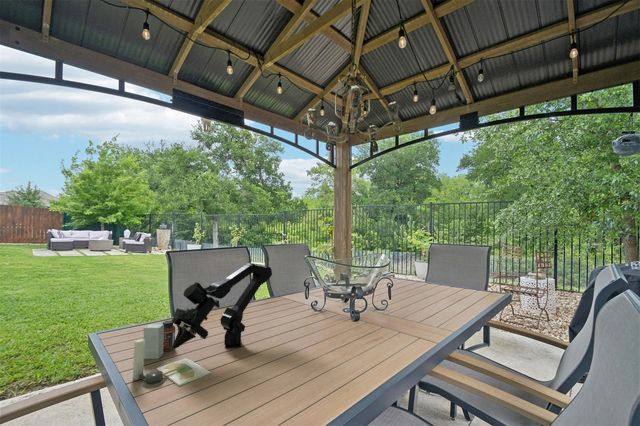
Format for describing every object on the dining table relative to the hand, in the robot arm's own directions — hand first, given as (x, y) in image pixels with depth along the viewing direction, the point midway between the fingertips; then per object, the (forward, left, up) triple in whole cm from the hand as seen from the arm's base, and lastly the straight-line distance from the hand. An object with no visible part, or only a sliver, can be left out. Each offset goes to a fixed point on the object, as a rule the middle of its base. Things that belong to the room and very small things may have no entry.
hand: (173, 348), depth 110 cm
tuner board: (-2, +7, -7) cm, 10 cm away
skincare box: (+10, -10, -7) cm, 16 cm away
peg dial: (+3, +8, -6) cm, 10 cm away
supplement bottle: (+7, -17, -7) cm, 19 cm away
